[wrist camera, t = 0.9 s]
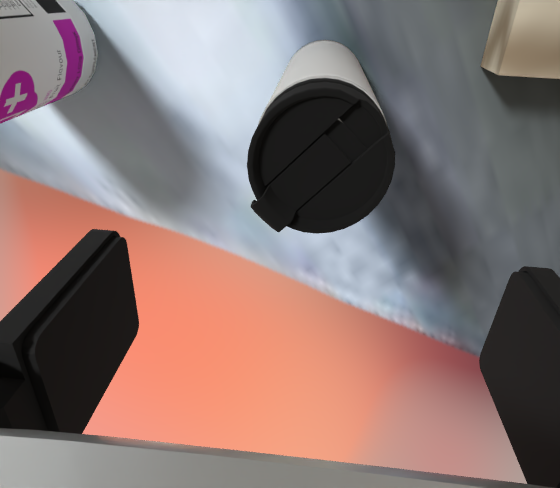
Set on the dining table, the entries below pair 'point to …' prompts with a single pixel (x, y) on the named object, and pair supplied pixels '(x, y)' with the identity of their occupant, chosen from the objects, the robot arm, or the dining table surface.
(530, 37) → the cream panel copper ring
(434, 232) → the dining table surface
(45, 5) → the supplement can
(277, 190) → the travel mug
